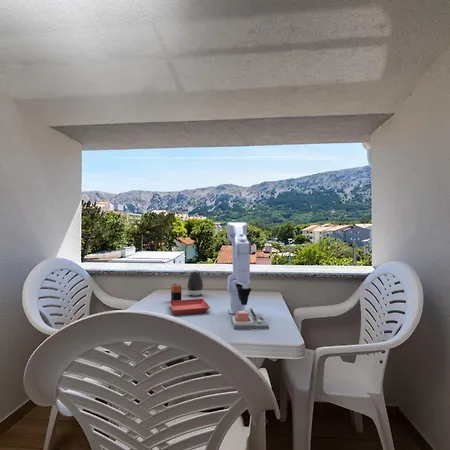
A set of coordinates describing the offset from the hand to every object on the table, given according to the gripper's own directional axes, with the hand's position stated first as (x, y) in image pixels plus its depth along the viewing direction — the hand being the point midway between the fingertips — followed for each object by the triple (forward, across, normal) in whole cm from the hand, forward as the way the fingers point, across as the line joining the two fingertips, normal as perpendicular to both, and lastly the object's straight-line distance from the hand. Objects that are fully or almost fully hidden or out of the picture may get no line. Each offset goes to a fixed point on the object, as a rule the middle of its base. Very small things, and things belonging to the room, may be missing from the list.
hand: (242, 302), depth 123 cm
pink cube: (+8, 0, 0) cm, 8 cm away
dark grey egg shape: (+10, -58, -22) cm, 63 cm away
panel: (+9, -3, +3) cm, 10 cm away
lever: (+8, -4, +6) cm, 10 cm away
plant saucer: (+10, -25, -24) cm, 36 cm away
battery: (+10, -42, -32) cm, 54 cm away
